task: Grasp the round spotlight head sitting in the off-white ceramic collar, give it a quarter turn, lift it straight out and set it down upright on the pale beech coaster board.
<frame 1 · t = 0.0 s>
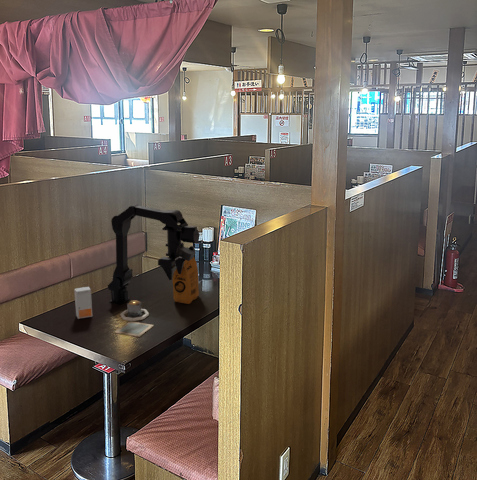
hand: (175, 276, 216), 15 cm above the table, fingers open, 8 cm apart
coffee package: (186, 298, 231), on the table, touching gripper
skincare box: (84, 316, 212), on the table
coaster board: (134, 329, 200), on the table
collar: (134, 315, 213), on the table
round spotlight head: (134, 315, 213), resting in collar
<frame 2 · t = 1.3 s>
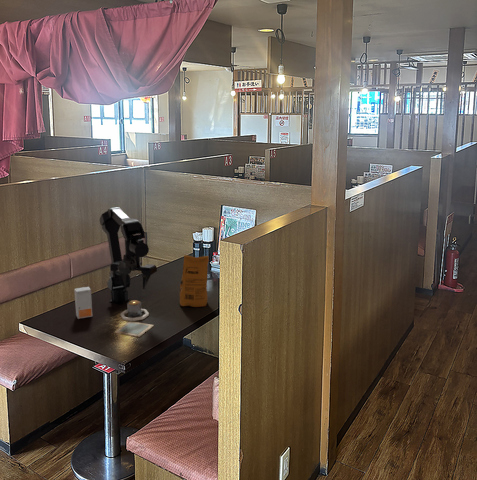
hand: (134, 287, 210), 12 cm above the table, fingers open, 9 cm apart
coffee package: (193, 303, 226), on the table
everything else where it was.
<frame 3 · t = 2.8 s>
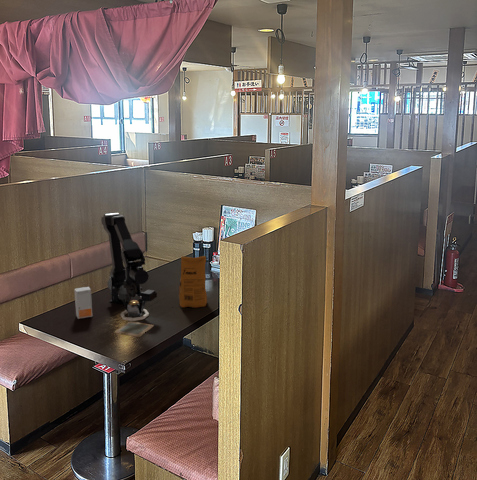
hand: (134, 312, 213), 1 cm above the table, fingers closed on round spotlight head, 6 cm apart
round spotlight head: (134, 315, 213), resting in collar, touching gripper
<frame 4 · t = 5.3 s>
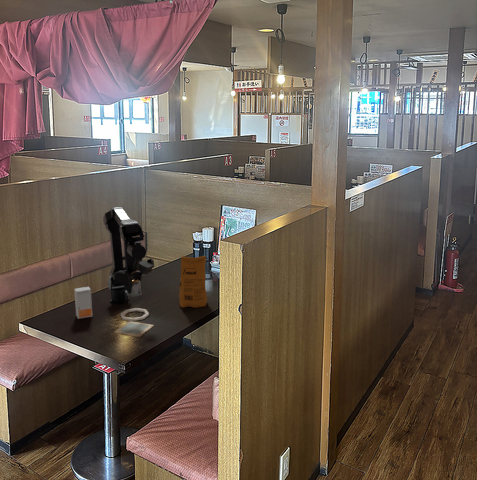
hand: (133, 291, 206), 12 cm above the table, fingers closed on round spotlight head, 6 cm apart
round spotlight head: (133, 294, 206), point 11 cm above the table, touching gripper
everything else where it was.
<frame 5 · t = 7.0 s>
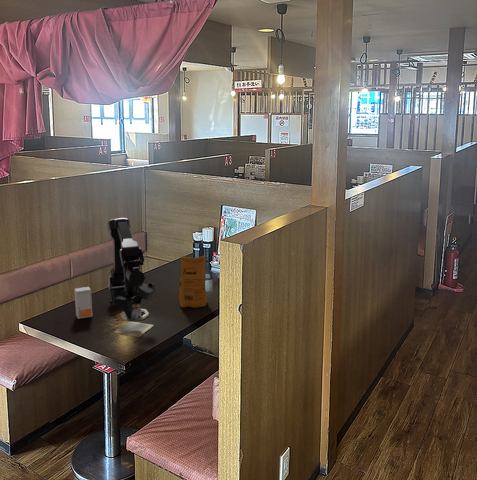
hand: (133, 315, 199), 6 cm above the table, fingers closed on round spotlight head, 6 cm apart
round spotlight head: (133, 318, 199), point 4 cm above the table, touching gripper
everything else where it was.
when the fingers open (3 cm above the table, at t = 8.0 s): round spotlight head stays where it is, resting on coaster board.
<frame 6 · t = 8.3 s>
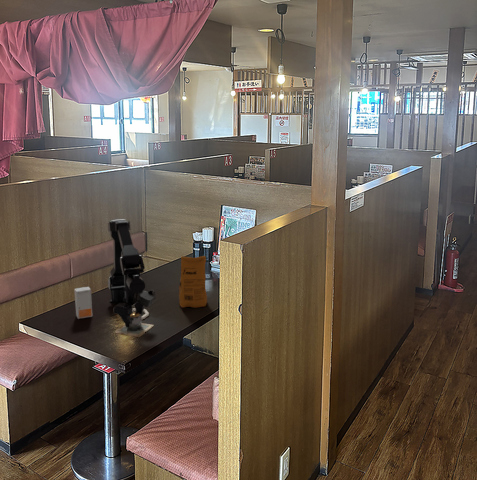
hand: (134, 322, 199), 3 cm above the table, fingers open, 8 cm apart
round spotlight head: (134, 328, 200), resting on coaster board
everything else where it was.
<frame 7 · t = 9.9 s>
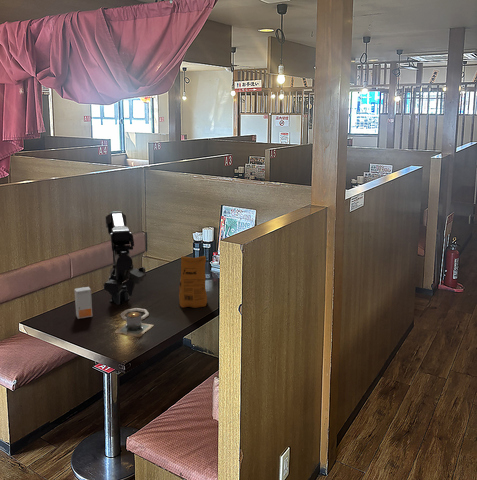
hand: (124, 300, 199), 12 cm above the table, fingers open, 9 cm apart
nothing on the table moved.
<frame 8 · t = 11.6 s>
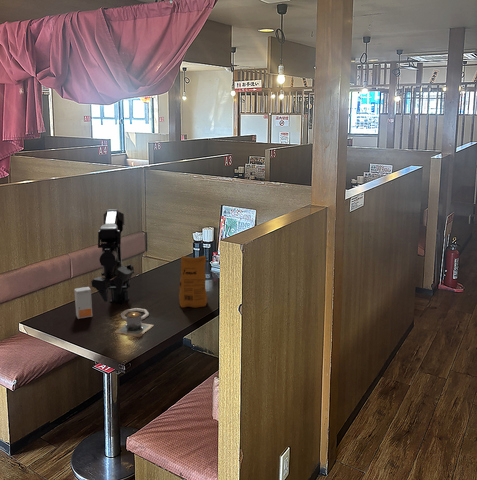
hand: (112, 297, 200), 12 cm above the table, fingers open, 9 cm apart
nothing on the table moved.
at the end: round spotlight head inside the target area on the coaster board (0.0 cm from its centre), point 0.5 cm above the coaster board's base; round spotlight head tilted 1°; the gripper is holding nothing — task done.
